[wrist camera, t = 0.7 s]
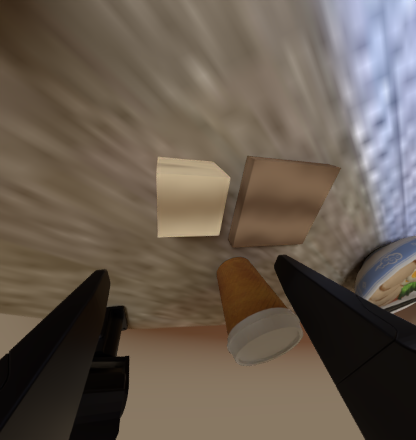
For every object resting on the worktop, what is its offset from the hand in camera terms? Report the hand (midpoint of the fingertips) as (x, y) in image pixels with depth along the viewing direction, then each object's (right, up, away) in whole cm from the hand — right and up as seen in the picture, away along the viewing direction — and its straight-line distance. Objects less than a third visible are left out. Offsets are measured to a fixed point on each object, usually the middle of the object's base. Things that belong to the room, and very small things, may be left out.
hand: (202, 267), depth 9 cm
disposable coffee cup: (+5, -6, +21) cm, 23 cm away
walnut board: (+10, +5, +15) cm, 19 cm away
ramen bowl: (+39, -6, +30) cm, 50 cm away
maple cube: (-2, +6, +11) cm, 13 cm away
